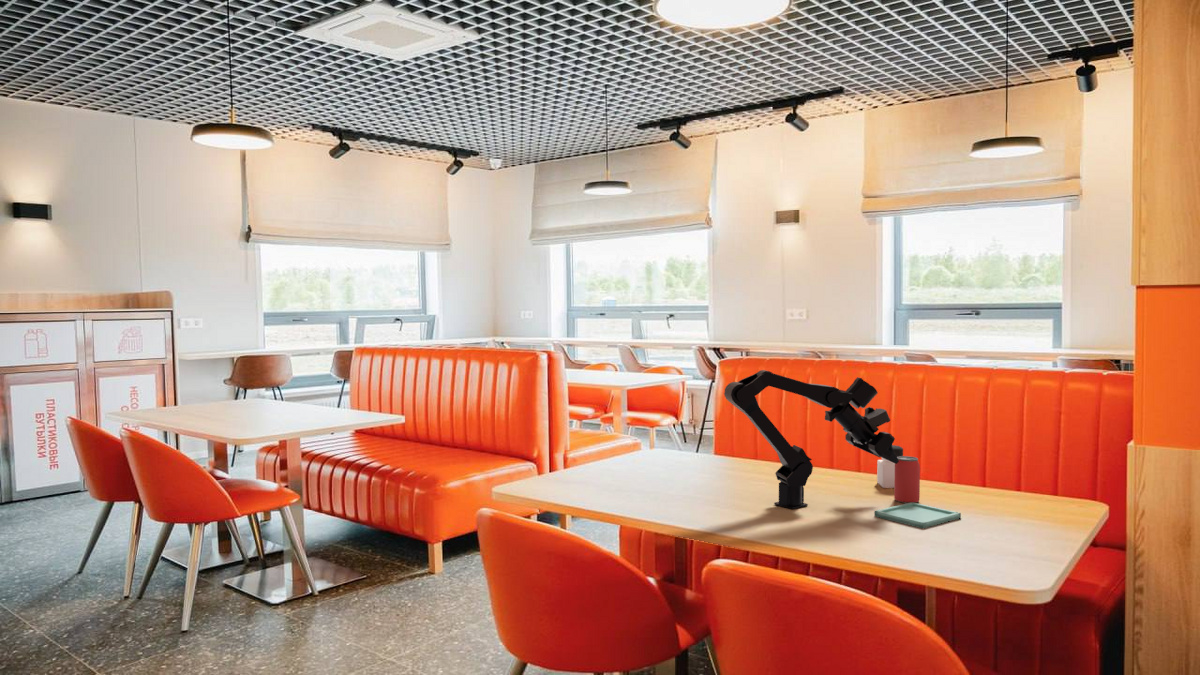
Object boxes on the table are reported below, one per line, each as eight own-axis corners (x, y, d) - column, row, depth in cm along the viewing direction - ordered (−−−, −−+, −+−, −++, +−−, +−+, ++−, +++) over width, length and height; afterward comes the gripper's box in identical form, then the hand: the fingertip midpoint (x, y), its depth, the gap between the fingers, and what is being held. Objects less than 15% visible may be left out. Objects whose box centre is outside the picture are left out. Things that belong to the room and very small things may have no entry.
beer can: (921, 504, 222) (922, 460, 221) (896, 503, 223) (896, 459, 223) (917, 498, 228) (917, 456, 228) (892, 497, 230) (892, 455, 229)
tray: (923, 528, 198) (923, 522, 198) (874, 516, 210) (874, 510, 210) (960, 518, 207) (960, 513, 207) (911, 507, 219) (911, 502, 219)
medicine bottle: (901, 483, 248) (901, 444, 247) (907, 488, 241) (908, 448, 240) (876, 482, 249) (877, 443, 248) (882, 488, 242) (883, 447, 241)
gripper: (887, 403, 214) (926, 443, 216) (855, 395, 232) (892, 432, 234) (859, 434, 213) (898, 474, 215) (829, 423, 232) (866, 461, 234)
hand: (889, 459), depth 225 cm, fingers open, 9 cm apart
